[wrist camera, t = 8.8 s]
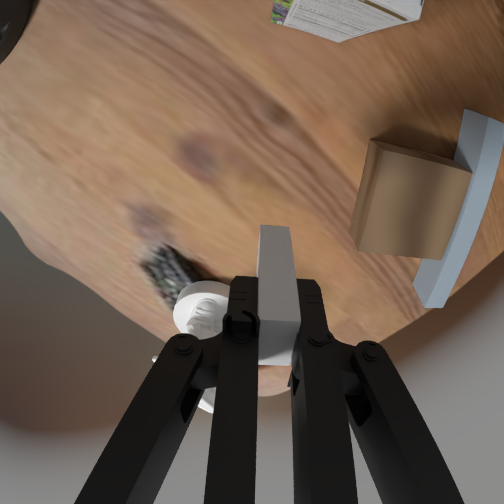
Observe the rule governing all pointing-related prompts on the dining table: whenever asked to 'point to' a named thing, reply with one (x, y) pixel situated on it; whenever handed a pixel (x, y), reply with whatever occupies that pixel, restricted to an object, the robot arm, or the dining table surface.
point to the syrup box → (344, 16)
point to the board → (464, 205)
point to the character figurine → (202, 318)
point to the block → (407, 202)
